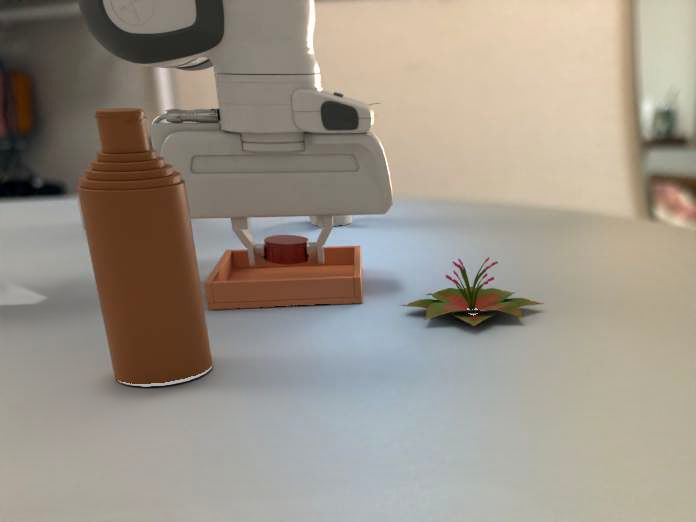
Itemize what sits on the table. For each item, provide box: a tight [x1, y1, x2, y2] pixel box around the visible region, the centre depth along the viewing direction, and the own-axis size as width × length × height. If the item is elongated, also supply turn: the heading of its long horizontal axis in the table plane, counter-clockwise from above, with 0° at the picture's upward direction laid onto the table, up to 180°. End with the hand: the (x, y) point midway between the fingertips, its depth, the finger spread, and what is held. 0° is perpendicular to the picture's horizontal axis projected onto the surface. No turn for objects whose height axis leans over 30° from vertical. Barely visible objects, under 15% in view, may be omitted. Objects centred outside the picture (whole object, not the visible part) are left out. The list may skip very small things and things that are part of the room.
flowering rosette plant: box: [399, 257, 544, 327], centre depth 73 cm, size 12×12×5 cm
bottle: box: [76, 107, 213, 384], centre depth 57 cm, size 6×6×18 cm
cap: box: [263, 234, 309, 264], centre depth 80 cm, size 4×4×2 cm
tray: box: [203, 245, 363, 311], centre depth 81 cm, size 13×13×2 cm
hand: (288, 263), depth 80 cm, fingers closed on cap, 4 cm apart
